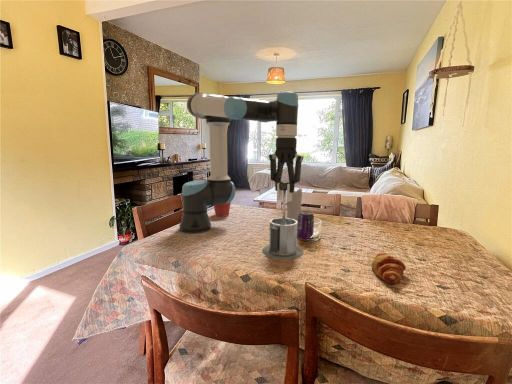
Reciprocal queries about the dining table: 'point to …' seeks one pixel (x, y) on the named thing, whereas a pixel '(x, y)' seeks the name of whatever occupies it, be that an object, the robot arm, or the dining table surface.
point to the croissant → (388, 267)
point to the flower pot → (222, 209)
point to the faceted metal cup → (283, 237)
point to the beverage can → (305, 225)
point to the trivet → (267, 253)
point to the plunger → (283, 187)
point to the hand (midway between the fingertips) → (284, 200)
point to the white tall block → (294, 205)
